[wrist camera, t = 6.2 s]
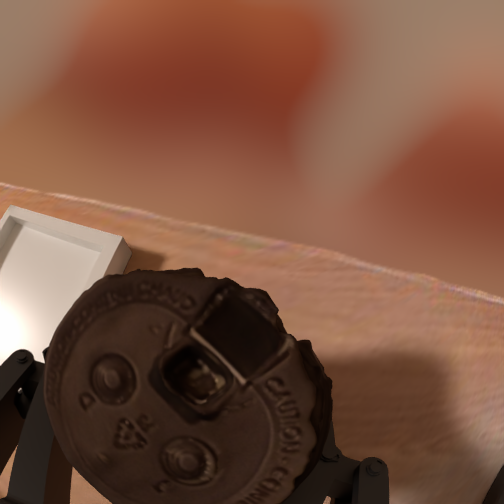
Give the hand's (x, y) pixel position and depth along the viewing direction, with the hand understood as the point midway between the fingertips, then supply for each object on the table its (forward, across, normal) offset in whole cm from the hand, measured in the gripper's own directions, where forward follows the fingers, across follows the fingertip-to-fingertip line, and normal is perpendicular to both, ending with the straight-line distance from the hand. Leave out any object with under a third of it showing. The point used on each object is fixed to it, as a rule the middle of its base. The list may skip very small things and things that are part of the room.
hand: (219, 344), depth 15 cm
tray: (0, -18, -5) cm, 19 cm away
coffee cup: (0, 0, -5) cm, 5 cm away
